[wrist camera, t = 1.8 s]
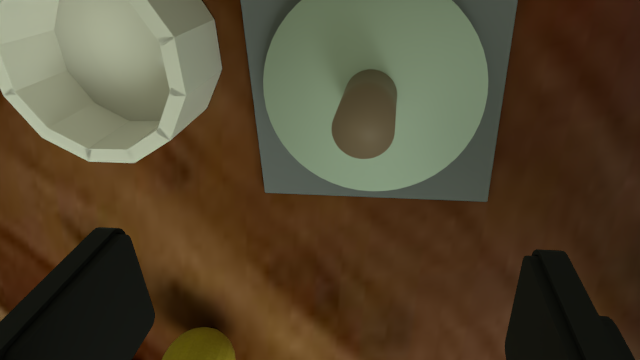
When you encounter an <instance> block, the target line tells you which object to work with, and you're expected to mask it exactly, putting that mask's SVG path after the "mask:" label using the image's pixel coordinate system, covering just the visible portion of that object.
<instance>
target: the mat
mask: <svg viewBox="0 0 640 360" xmlns="http://www.w3.org/2000/svg"><path fill="white" fill-rule="evenodd" d="M300 1H301V0H241V8H242V16H243V23H244V31H245V39H246V47H247V55H248V63H249V70H250V78H251V86H252V94H253V102H254V110H255V118H256V125H257V133H258V141H259V149H260V157H261V165H262V172H263V180H264V188H265V193H285V194H309V195H334V196H358V197H382V198H406V199H430V200H455V201H479V202H487V200H488V193H489V186H490V180H491V173H492V167H493V160H494V153H495V147H496V140H497V134H498V127H499V120H500V114H501V107H502V101H503V94H504V87H505V81H506V74H507V68H508V61H509V54H510V48H511V41H512V35H513V28H514V21H515V15H516V8H517V2H518V0H452V1H453V2H454V3H455V4H456V5H457V6H458V7H459V8H460V9H461V10H462V12H463V13H464V14H465V16H466V17H467V18H468V19H469V21H470V22H471V24H472V26H473V28H474V29H475V31H476V33H477V35H478V37H479V39H480V42H481V44H482V47H483V50H484V54H485V58H486V62H487V69H488V95H487V100H486V105H485V110H484V113H483V116H482V119H481V121H480V124H479V126H478V128H477V130H476V132H475V134H474V136H473V137H472V139H471V140H470V142H469V143H468V145H467V146H466V148H465V149H464V150H463V151H462V152H461V153H460V154H459V156H458V157H457V158H456V159H455V160H454V161H452V162H451V163H450V164H449V165H448V166H447V167H446V168H444V169H443V170H441V171H440V172H438V173H437V174H435V175H434V176H432V177H430V178H428V179H426V180H424V181H422V182H419V183H417V184H414V185H411V186H408V187H404V188H400V189H395V190H388V191H363V190H355V189H350V188H346V187H342V186H339V185H336V184H333V183H331V182H329V181H327V180H325V179H322V178H320V177H319V176H317V175H315V174H314V173H312V172H311V171H309V170H308V169H307V168H305V167H304V166H303V165H301V164H300V163H299V162H298V161H297V160H296V159H295V158H294V157H293V156H292V155H291V154H290V153H289V151H288V150H287V149H286V148H285V146H284V145H283V144H282V142H281V141H280V139H279V137H278V136H277V134H276V132H275V130H274V128H273V126H272V124H271V122H270V119H269V115H268V112H267V109H266V104H265V99H264V90H263V75H264V66H265V61H266V56H267V52H268V50H269V47H270V44H271V41H272V39H273V37H274V35H275V33H276V31H277V29H278V27H279V26H280V24H281V23H282V21H283V20H284V19H285V17H286V16H287V14H288V13H289V12H290V11H291V10H292V9H293V8H294V7H295V6H296V5H297V4H298V3H299V2H300Z"/></svg>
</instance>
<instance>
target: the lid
mask: <svg viewBox="0 0 640 360" xmlns="http://www.w3.org/2000/svg"><path fill="white" fill-rule="evenodd" d="M263 90H264V99H265V104H266V109H267V112H268V115H269V119H270V122H271V124H272V126H273V128H274V130H275V132H276V134H277V136H278V137H279V139H280V141H281V142H282V144H283V145H284V146H285V148H286V149H287V150H288V151H289V153H290V154H291V155H292V156H293V157H294V158H295V159H296V160H297V161H298V162H299V163H300V164H301V165H303V166H304V167H305V168H307V169H308V170H309V171H311V172H312V173H314V174H315V175H317V176H319V177H320V178H322V179H325V180H327V181H329V182H331V183H333V184H336V185H339V186H342V187H346V188H350V189H355V190H363V191H388V190H395V189H400V188H404V187H408V186H411V185H414V184H417V183H419V182H422V181H424V180H426V179H428V178H430V177H432V176H434V175H435V174H437V173H438V172H440V171H441V170H443V169H444V168H446V167H447V166H448V165H449V164H450V163H451V162H452V161H454V160H455V159H456V158H457V157H458V156H459V154H460V153H461V152H462V151H463V150H464V149H465V148H466V146H467V145H468V143H469V142H470V140H471V139H472V137H473V136H474V134H475V132H476V130H477V128H478V126H479V124H480V121H481V119H482V116H483V113H484V110H485V105H486V100H487V95H488V69H487V62H486V58H485V54H484V50H483V47H482V44H481V42H480V39H479V37H478V35H477V33H476V31H475V29H474V28H473V26H472V24H471V22H470V21H469V19H468V18H467V17H466V16H465V14H464V13H463V12H462V10H461V9H460V8H459V7H458V6H457V5H456V4H455V3H454V2H453V1H452V0H301V1H300V2H299V3H298V4H297V5H296V6H295V7H294V8H293V9H292V10H291V11H290V12H289V13H288V14H287V16H286V17H285V19H284V20H283V21H282V23H281V24H280V26H279V27H278V29H277V31H276V33H275V35H274V37H273V39H272V41H271V44H270V47H269V50H268V52H267V56H266V61H265V66H264V75H263Z"/></svg>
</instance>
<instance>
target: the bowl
mask: <svg viewBox="0 0 640 360" xmlns="http://www.w3.org/2000/svg"><path fill="white" fill-rule="evenodd" d="M221 71H222V64H221V58H220V51H219V45H218V39H217V32H216V26H215V19H214V18H213V16H212V15H211V14H210V12H209V11H208V9H207V8H206V6H205V5H204V3H203V2H202V0H0V89H1V91H2V94H3V96H4V97H5V98H6V99H7V100H8V101H9V102H10V103H11V104H12V105H13V107H14V108H15V109H16V110H17V111H18V112H19V113H20V114H21V115H22V116H23V117H24V119H25V120H26V121H27V122H28V123H29V124H30V125H31V126H32V127H33V128H34V129H35V130H36V132H37V133H38V134H39V135H40V136H41V137H42V138H44V139H46V140H48V141H50V142H52V143H53V144H55V145H57V146H59V147H61V148H63V149H65V150H67V151H69V152H71V153H73V154H75V155H77V156H79V157H81V158H83V159H85V160H87V161H89V162H118V163H135V162H137V161H139V160H140V159H142V158H143V157H145V156H146V155H148V154H150V153H151V152H153V151H154V150H156V149H157V148H159V147H161V146H162V145H164V144H165V143H167V142H169V141H170V140H171V139H172V138H174V137H175V136H176V135H177V134H178V133H179V132H180V131H182V130H183V129H184V128H185V127H186V126H187V125H188V124H190V123H191V122H192V121H193V120H194V119H195V118H196V117H198V116H199V115H200V114H201V113H202V112H203V111H204V110H205V109H207V107H208V104H209V102H210V99H211V97H212V94H213V92H214V89H215V86H216V84H217V81H218V79H219V76H220V74H221Z"/></svg>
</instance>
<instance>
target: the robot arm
mask: <svg viewBox="0 0 640 360" xmlns="http://www.w3.org/2000/svg"><path fill="white" fill-rule="evenodd" d="M154 318H155V313H154V309H153V306H152V303H151V300H150V296H149V293H148V290H147V287H146V284H145V281H144V278H143V275H142V272H141V268H140V265H139V262H138V259H137V256H136V253H135V250H134V247H133V244H132V240H131V238H130V237H129V236H128V235H126V234H125V232H124V231H123V230H122V229H119V228H101V227H99V228H96V229H94V230H93V231H92V232H91V233H90V234H89V235H88V236H87V237H86V238H85V239H84V240H83V241H82V242H81V243H80V244H79V245H78V246H77V247H76V248H75V249H74V250H73V251H72V252H71V253H70V254H69V255H67V256H66V257H65V258H64V259H63V260H62V261H61V262H60V263H59V264H58V265H57V266H56V267H55V268H54V269H53V270H52V271H51V272H50V273H49V274H48V275H47V276H46V277H45V278H44V279H43V280H42V281H41V282H40V283H39V284H38V285H37V286H36V287H35V288H34V289H33V290H32V291H31V292H30V293H29V294H28V295H27V296H26V297H25V298H24V299H23V300H22V301H21V302H20V303H19V304H18V305H17V306H16V307H15V308H14V309H13V310H12V311H11V312H10V313H9V314H8V315H7V316H6V317H5V318H4V319H3V320H2V321H1V322H0V360H132V358H133V356H134V355H135V353H136V352H137V350H138V348H139V347H140V345H141V344H142V342H143V340H144V339H145V337H146V335H147V334H148V332H149V331H150V329H151V327H152V325H153V323H154ZM505 354H506V360H635V358H634V357H633V355H632V353H631V351H630V349H629V348H628V346H627V344H626V342H625V340H624V338H623V337H622V335H621V333H620V331H619V329H618V328H617V326H616V324H615V323H614V322H613V320H612V319H610V318H609V317H606V316H599V315H598V313H597V311H596V309H595V307H594V306H593V304H592V302H591V300H590V298H589V296H588V294H587V292H586V290H585V288H584V286H583V284H582V282H581V280H580V278H579V277H578V275H577V273H576V271H575V269H574V267H573V265H572V263H571V261H570V259H569V257H568V255H567V254H566V252H564V251H555V250H534V252H533V254H532V256H525V257H524V258H523V262H522V266H521V271H520V276H519V280H518V285H517V289H516V294H515V299H514V303H513V308H512V313H511V317H510V322H509V326H508V331H507V336H506V341H505Z"/></svg>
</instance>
